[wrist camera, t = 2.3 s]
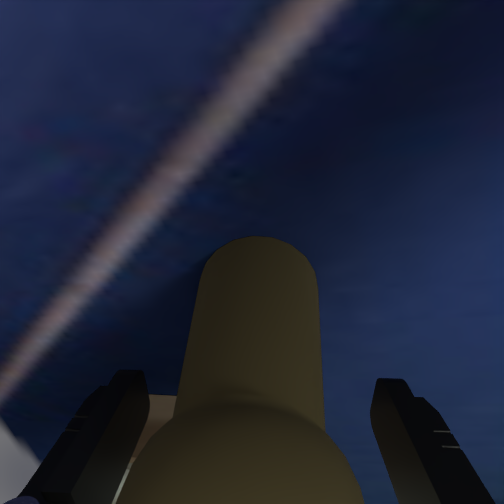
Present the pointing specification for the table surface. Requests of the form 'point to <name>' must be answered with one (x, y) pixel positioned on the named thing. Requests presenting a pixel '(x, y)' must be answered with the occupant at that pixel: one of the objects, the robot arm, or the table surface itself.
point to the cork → (248, 393)
